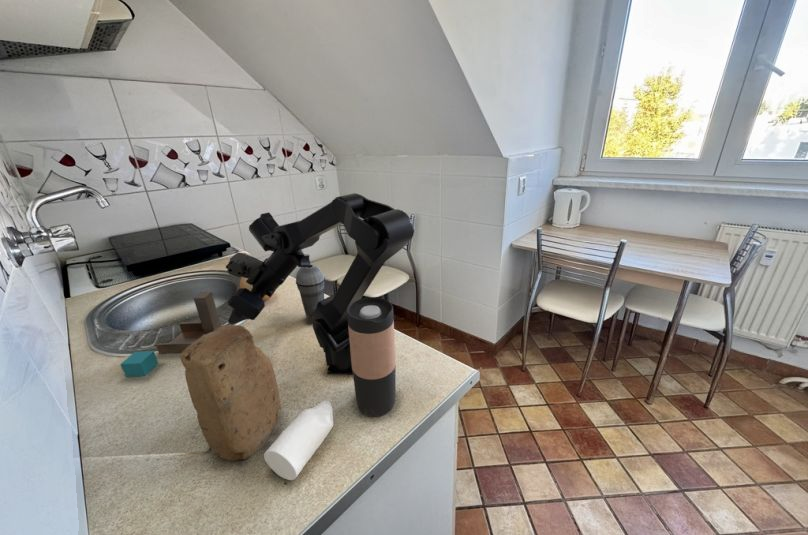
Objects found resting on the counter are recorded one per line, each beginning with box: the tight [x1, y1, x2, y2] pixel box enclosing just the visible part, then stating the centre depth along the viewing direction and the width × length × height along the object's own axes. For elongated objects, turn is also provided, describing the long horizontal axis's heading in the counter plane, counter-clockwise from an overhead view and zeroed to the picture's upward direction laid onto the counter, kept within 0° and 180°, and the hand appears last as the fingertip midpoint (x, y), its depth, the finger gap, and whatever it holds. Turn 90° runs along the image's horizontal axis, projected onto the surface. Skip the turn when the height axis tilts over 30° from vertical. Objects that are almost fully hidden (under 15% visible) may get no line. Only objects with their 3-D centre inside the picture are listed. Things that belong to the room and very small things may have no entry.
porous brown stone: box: [180, 324, 282, 462], centre depth 50 cm, size 11×8×20 cm
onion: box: [238, 277, 275, 302], centre depth 95 cm, size 10×10×10 cm
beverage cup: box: [295, 249, 326, 325], centre depth 83 cm, size 7×7×20 cm
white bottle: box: [263, 400, 334, 481], centre depth 51 cm, size 6×12×6 cm, turn 156°
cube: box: [120, 350, 159, 378], centre depth 67 cm, size 4×4×4 cm
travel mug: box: [347, 296, 397, 418], centre depth 56 cm, size 8×8×20 cm
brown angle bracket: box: [155, 291, 222, 355], centre depth 75 cm, size 12×9×13 cm
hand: (239, 312), depth 74 cm, fingers open, 9 cm apart
